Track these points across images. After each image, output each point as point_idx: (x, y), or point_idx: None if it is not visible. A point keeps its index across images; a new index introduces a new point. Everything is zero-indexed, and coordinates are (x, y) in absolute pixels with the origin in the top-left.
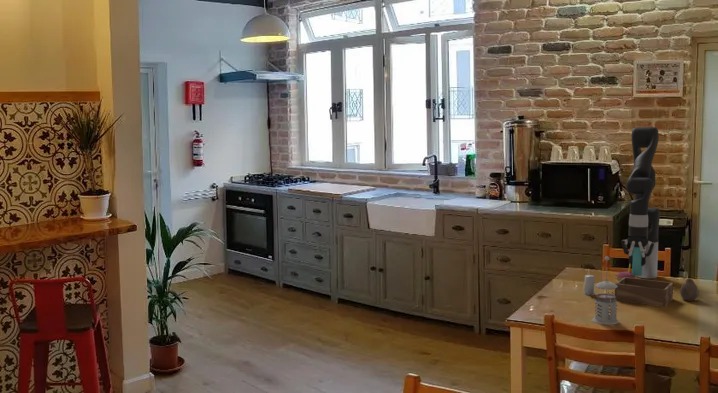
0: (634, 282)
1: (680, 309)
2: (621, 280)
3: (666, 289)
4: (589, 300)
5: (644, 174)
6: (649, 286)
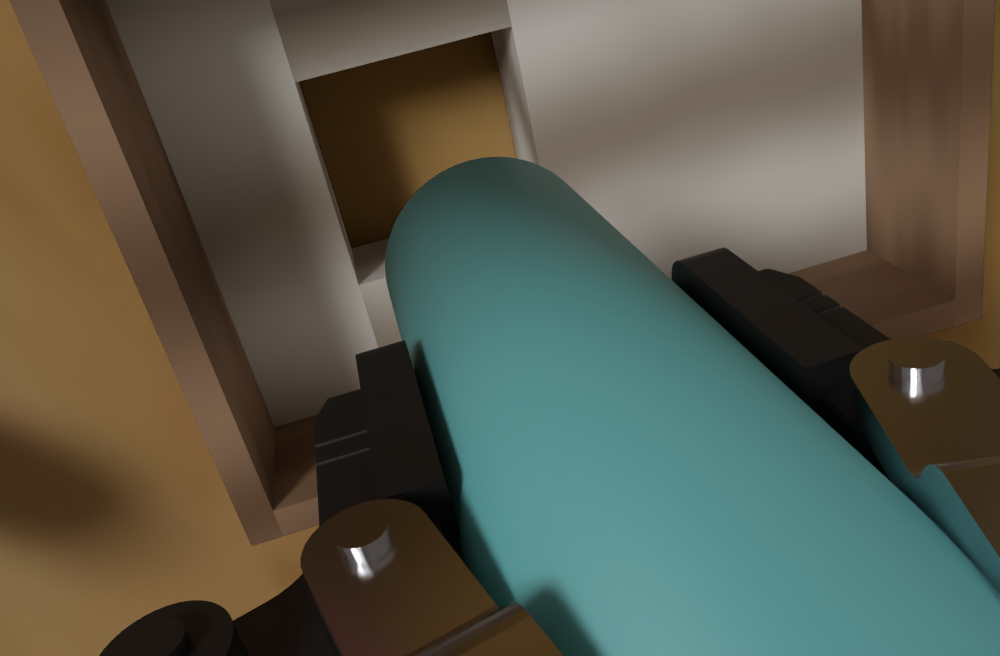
0: None
1: (993, 203)
2: (173, 284)
3: (979, 259)
4: (68, 630)
5: None
6: None
